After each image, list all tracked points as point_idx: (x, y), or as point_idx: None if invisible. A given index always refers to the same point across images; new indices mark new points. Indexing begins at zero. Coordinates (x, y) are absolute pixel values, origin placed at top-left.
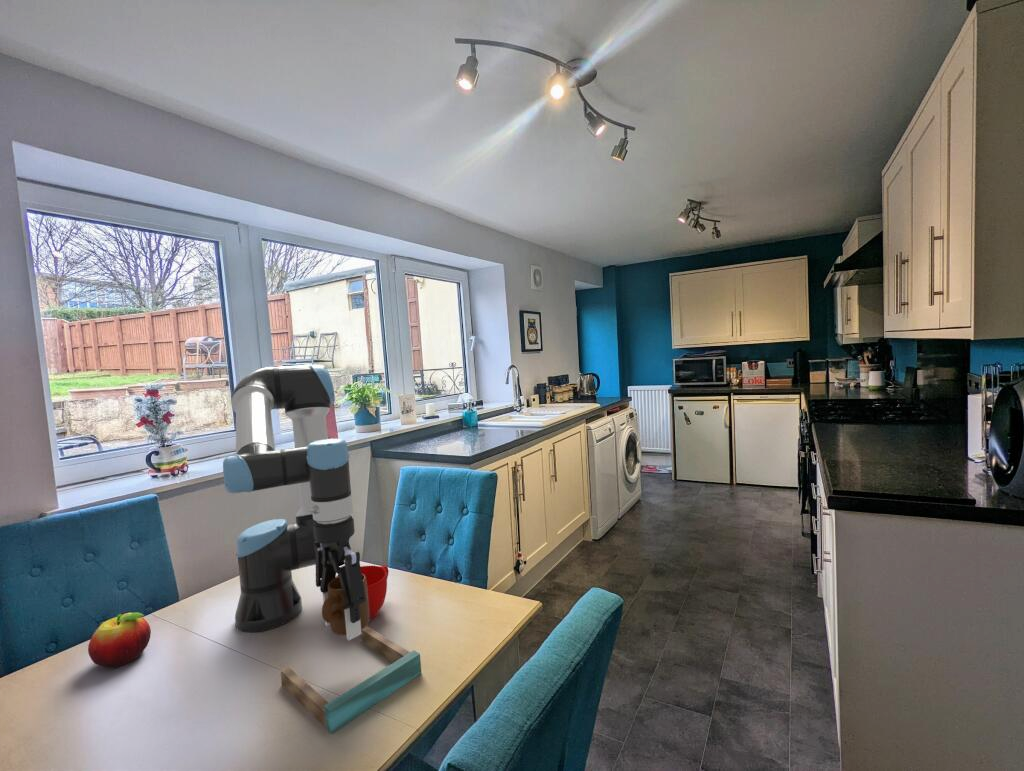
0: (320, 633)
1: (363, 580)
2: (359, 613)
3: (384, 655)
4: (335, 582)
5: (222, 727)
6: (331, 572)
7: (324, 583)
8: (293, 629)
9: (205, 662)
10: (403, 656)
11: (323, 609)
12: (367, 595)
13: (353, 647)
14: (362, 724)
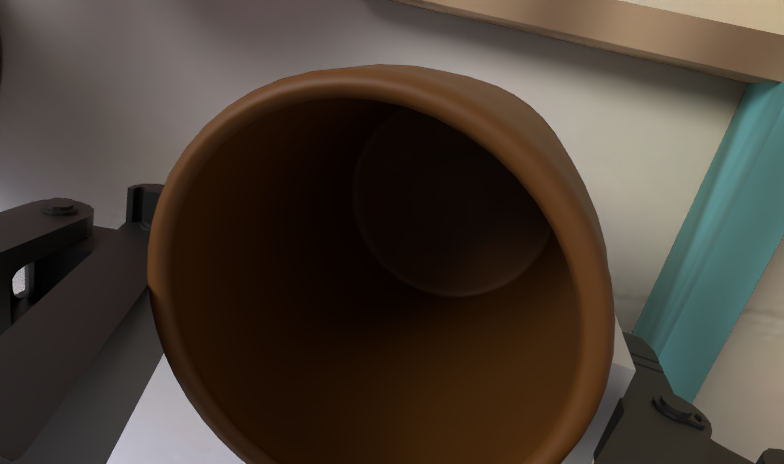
0: (162, 29)
1: (592, 266)
2: (662, 373)
3: (546, 35)
4: (195, 285)
5: None
6: (95, 413)
7: (146, 385)
8: (58, 56)
9: (20, 289)
10: (736, 72)
11: None
12: (573, 164)
13: (360, 43)
14: (717, 370)
